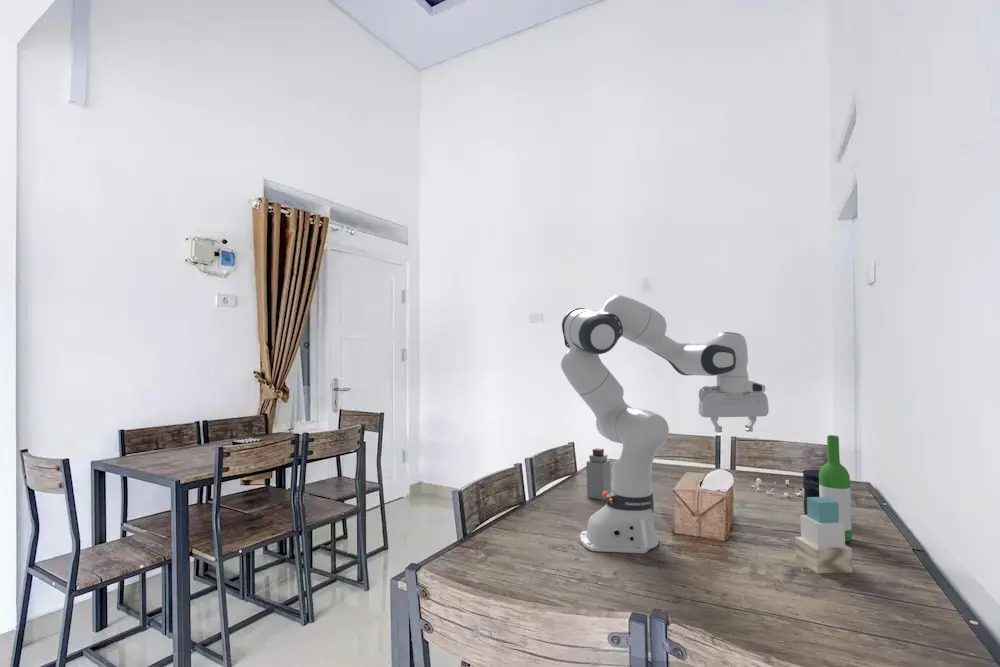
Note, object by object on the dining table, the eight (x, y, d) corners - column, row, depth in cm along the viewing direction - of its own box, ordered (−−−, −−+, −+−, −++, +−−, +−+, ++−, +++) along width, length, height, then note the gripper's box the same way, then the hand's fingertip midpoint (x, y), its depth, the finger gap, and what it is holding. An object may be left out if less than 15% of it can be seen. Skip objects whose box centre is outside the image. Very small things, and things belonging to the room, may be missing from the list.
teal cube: (819, 522, 132) (819, 502, 132) (807, 516, 137) (806, 497, 137) (838, 522, 132) (838, 502, 132) (825, 515, 137) (825, 496, 137)
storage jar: (833, 526, 163) (831, 478, 164) (799, 518, 171) (797, 473, 171) (843, 519, 170) (841, 473, 170) (810, 512, 177) (808, 468, 178)
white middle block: (817, 548, 131) (816, 524, 131) (801, 538, 138) (800, 515, 138) (845, 547, 131) (844, 523, 131) (827, 537, 138) (826, 514, 138)
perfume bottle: (594, 493, 204) (594, 447, 205) (610, 495, 200) (610, 448, 201) (587, 497, 199) (586, 449, 199) (603, 499, 195) (602, 451, 195)
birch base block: (817, 573, 130) (816, 549, 130) (795, 559, 139) (795, 536, 139) (852, 572, 130) (851, 548, 130) (828, 558, 139) (827, 535, 139)
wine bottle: (824, 541, 151) (820, 437, 152) (817, 532, 158) (814, 433, 159) (855, 544, 148) (852, 438, 149) (847, 535, 155) (844, 434, 156)
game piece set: (741, 486, 213) (740, 476, 213) (786, 484, 215) (786, 475, 215) (770, 499, 194) (770, 489, 194) (820, 497, 196) (820, 487, 196)
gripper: (703, 387, 154) (704, 434, 153) (770, 386, 154) (772, 432, 154) (694, 385, 160) (695, 430, 159) (759, 384, 161) (760, 429, 160)
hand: (733, 431), depth 157 cm, fingers open, 8 cm apart
